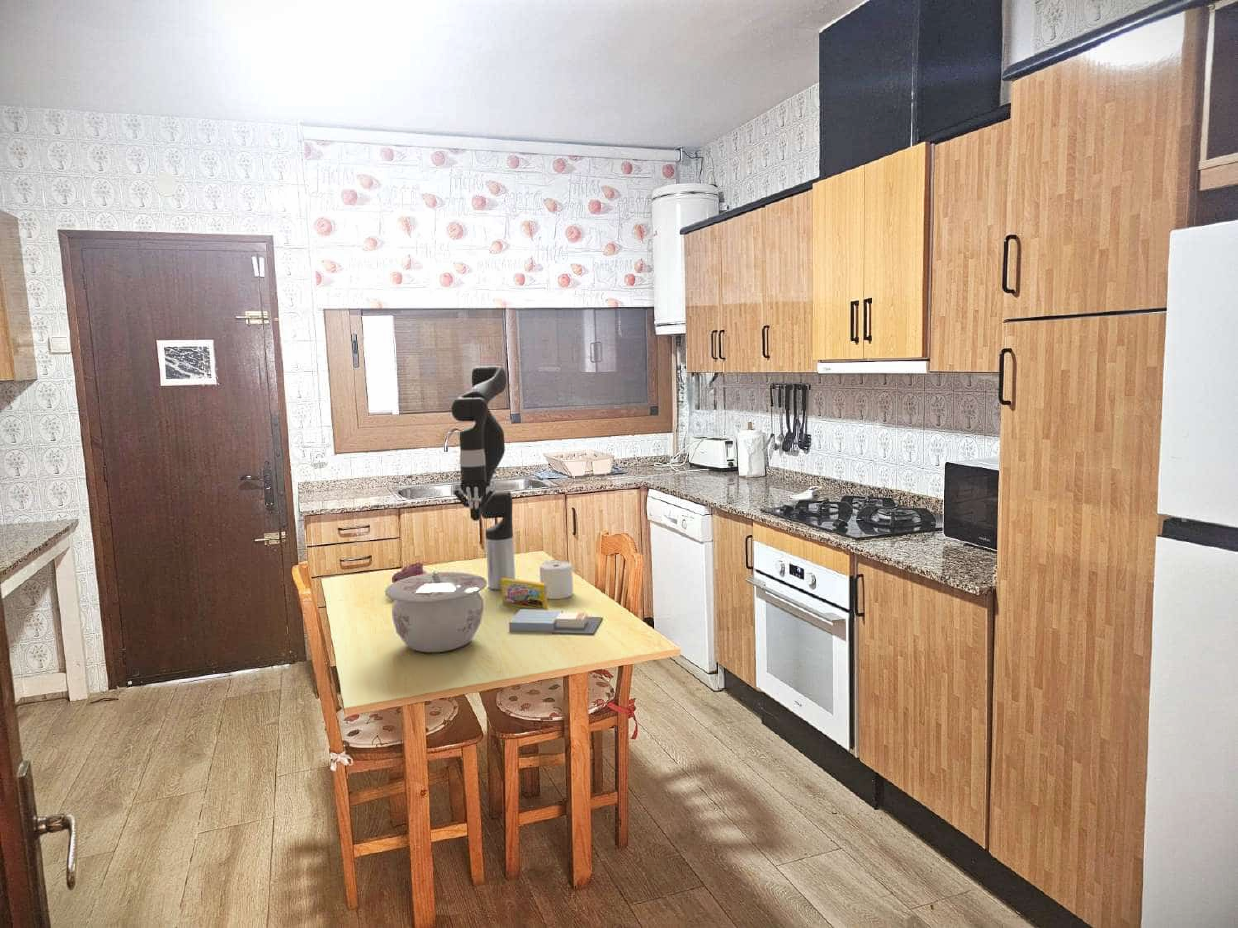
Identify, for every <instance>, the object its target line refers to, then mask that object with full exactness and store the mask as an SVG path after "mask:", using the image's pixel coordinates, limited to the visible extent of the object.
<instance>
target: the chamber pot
mask: <svg viewBox="0 0 1238 928" xmlns="http://www.w3.org/2000/svg"><path fill="white" fill-rule="evenodd" d="M487 586H488V580H486V578H485V577H483V576H481V575H478V574H474V573H469V572H468V573H467V572H460V571H443V572H442V571H437V570H433V572H429V573H427V574H422V575H417V576H412V577H409V578H406V579H402V580H399V581H397V582H395V583H393V582H392V583H391V584H389V585H388V586H387V587H386V588H385V590H384V594H385V596H386V597H388V598H390V599H392V600H394V601H393V603H392V605H391V616H392V621H393V624H394V627H395V632H396V633H397V635H398V636H399V638H400V639H401V641H402V642H403V643H404V644H405V645H406V646H408V648H409V649H411V650H413V651H417V652H421V653H429V654H430V653H431V654H433V653H435V654H437V653H438V654H439V653H446V652H451V651H454V650H456V649H459V648H461V647H464V646H465V645H467V644H469V643H470V642H471V641H472V640H473V638H474V637H475V635H476V633H477V631H478V629H479V628H480V625H481V623H482V620H483V613H484V599H483V597H482V596H481V594H480V593H479V592H481V591H483V590H484V589H485V588H486V587H487Z"/></svg>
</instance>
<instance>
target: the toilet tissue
mask: <svg viewBox="0 0 1238 928" xmlns="http://www.w3.org/2000/svg"><path fill="white" fill-rule="evenodd" d="M539 581H540V582H539V583H546V592H547V600H560V599H561V600H562V599H567V598H570V597H572V596H573V595H574V588H573V587H574V584H573V583H574V582H573V564H572V562H569V561H563V560H562V561H560V560H557V561H556V558H555V559H550V560H547V561H545V562H543V563H542V564H540V565H539ZM569 596H570V597H569Z"/></svg>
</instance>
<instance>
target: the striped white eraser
mask: <svg viewBox="0 0 1238 928" xmlns="http://www.w3.org/2000/svg"><path fill="white" fill-rule="evenodd" d="M587 617H588V613H586V612H563V613H560V614H559V615H558V616H557V618H556V627H570V628H583V627H584V626H585V624H586V622H587Z"/></svg>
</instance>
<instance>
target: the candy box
mask: <svg viewBox="0 0 1238 928" xmlns="http://www.w3.org/2000/svg"><path fill="white" fill-rule="evenodd" d="M501 587H502V589H501V598H502V604H504V605H509V606H510V605H511V606H516V607H523V608H530V609H535V610H548V599H547V592H546V583H540V582H538V581H530V580H524V579H523V580H522V579H516V578H515V579H509V578H503V579H501Z"/></svg>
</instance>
